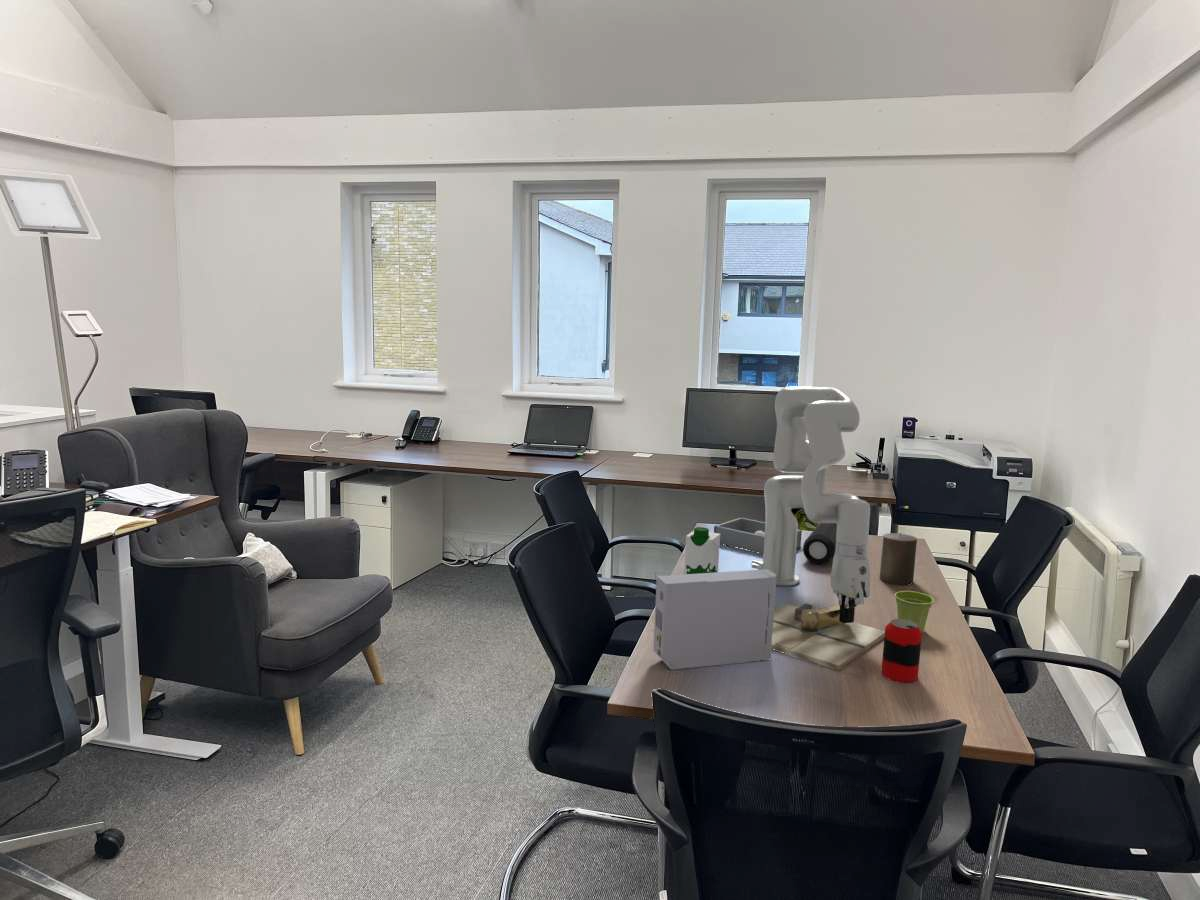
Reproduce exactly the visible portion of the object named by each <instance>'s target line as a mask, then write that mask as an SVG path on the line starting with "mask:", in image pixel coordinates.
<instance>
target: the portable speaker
mask: <svg viewBox="0 0 1200 900" xmlns="http://www.w3.org/2000/svg"><path fill="white" fill-rule="evenodd" d="M836 532H837V523H818V525H816V527H815V528H814V530H813V531H812V532H811V533H810V535H809V536H808V537H807V538H806V539H804V543H803V545H802V551H803V556H805V558H806V559H807V560H808V561H809V562H810V563H813V564H814V565H818V564H820V565H819V566H821V565H825V564H827V563H829V562H830V561H831V560H833V559H834V554H835V547H836Z"/></svg>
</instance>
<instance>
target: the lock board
mask: <svg viewBox="0 0 1200 900" xmlns="http://www.w3.org/2000/svg"><path fill="white" fill-rule="evenodd" d="M805 609H811V610H813V604H810V603H804V604H802V605H800V606H796V605H795V606H794V605H791V604H787V603H782V604H781V605H779V606H777V607H776V608H775V607H774V620H773V634H772V649H775V650H778V651H781V652H784V653H787V654H790V655H789V656H791V655H793V656H792V657H794V656H795V657H794V658H797V657H798V658H797V659H800V658H801V660H803V659H805V660H804V661H807V660H808V662H810V661H811V662H810V663H813V662H814V664H816V663H817V665H821V666H822V667H823V666H824V667H826V668H829V669H832V670H835V671H840V670H842V668H844V667H845V666H847V665H848V664H850V663H851V662H852V661H854V660H855V659H856V658H858V657H859V656H861V655H862V654H863V653H865V652H866V651H867V650H869V649H870V648H872V647H873V646H874V645H876V644H877V643H879V642H880V641H881V640H884V637H885V630H882V629H879V628H875V627H871V626H868V625H864V624H861V623H857V622H853V623H840V624H836V625H832V626H828V627H823V628H819V629H818V630H817V631H813V632H810V631H805V630H803V629H801V618H802V610H805ZM871 646H872V647H871ZM775 650H774V651H775ZM778 651H777V652H778ZM781 652H780V653H781ZM784 653H783V654H784ZM787 654H786V655H787ZM860 654H861V655H860ZM853 659H854V660H853Z"/></svg>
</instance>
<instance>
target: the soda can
mask: <svg viewBox="0 0 1200 900" xmlns="http://www.w3.org/2000/svg"><path fill="white" fill-rule="evenodd" d="M884 631H885V637H884V638H883V646H882V647H883V649H882V658H881V659H882V661H881V673H882V675H883V676H884V677H885V678H886V677H887V678H886V679H888V678H889V679H888V680H890V679H891V681H893V680H894V681H893V682H896V681H897V683H902V684H903V682H904V683H905V684H906V683H907V684H908V683H909V682H910V683H913V682H915V681H916V680H918V678H919V669H920V658H921V649H922V637H923V632H922V631H921V630H920V628H919V627H918V625H917V624H916V623H914V622H912V621H909V620H904V619H898V618H895V619H891V620H890V621H889V623H888V624H886V625H885V627H884ZM910 683H909V684H910Z"/></svg>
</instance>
